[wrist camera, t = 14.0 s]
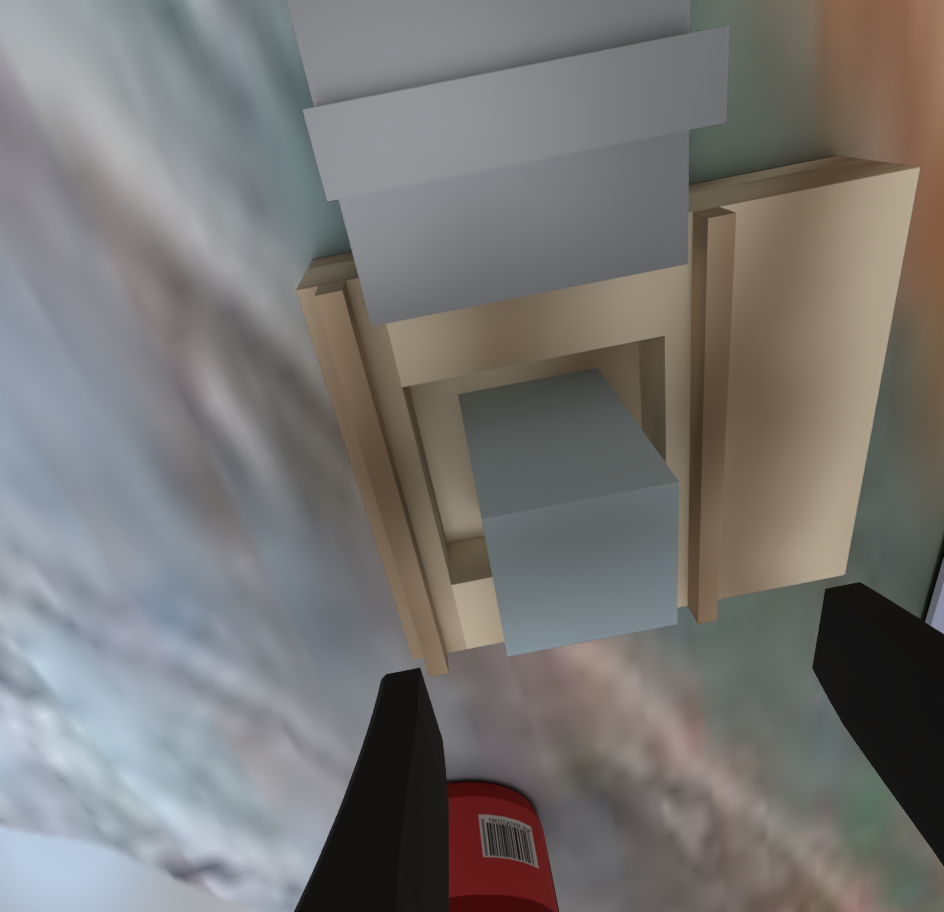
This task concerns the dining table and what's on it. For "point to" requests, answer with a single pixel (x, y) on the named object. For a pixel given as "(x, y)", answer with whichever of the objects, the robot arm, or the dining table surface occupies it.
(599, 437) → the block
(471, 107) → the cover
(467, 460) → the pedestal
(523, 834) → the canned food
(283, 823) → the dining table surface
